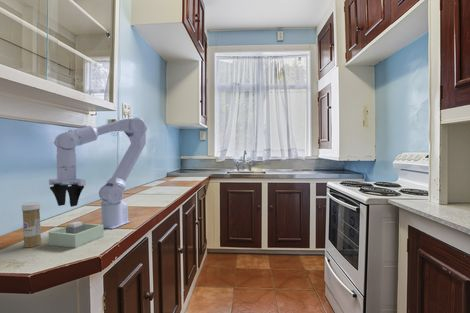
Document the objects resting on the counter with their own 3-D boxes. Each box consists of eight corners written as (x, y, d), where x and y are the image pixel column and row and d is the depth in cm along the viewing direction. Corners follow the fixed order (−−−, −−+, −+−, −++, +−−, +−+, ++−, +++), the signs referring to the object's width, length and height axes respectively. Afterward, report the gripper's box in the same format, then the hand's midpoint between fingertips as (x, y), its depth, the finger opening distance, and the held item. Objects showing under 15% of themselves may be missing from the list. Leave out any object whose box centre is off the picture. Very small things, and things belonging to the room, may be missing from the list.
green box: (79, 234, 95) (78, 222, 95) (103, 236, 92) (103, 224, 92) (49, 244, 85) (48, 232, 85) (75, 248, 81) (75, 234, 81)
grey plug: (77, 237, 90) (76, 220, 90) (85, 238, 89) (84, 221, 89) (66, 241, 86) (65, 224, 86) (74, 242, 85) (73, 224, 85)
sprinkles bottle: (19, 248, 83) (17, 204, 82) (31, 242, 87) (29, 201, 87) (34, 247, 82) (32, 204, 82) (45, 242, 87) (43, 201, 87)
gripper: (40, 167, 92) (41, 207, 93) (72, 167, 88) (73, 209, 88) (58, 166, 99) (59, 203, 99) (90, 166, 95) (91, 204, 95)
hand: (67, 205), depth 94 cm, fingers open, 5 cm apart
